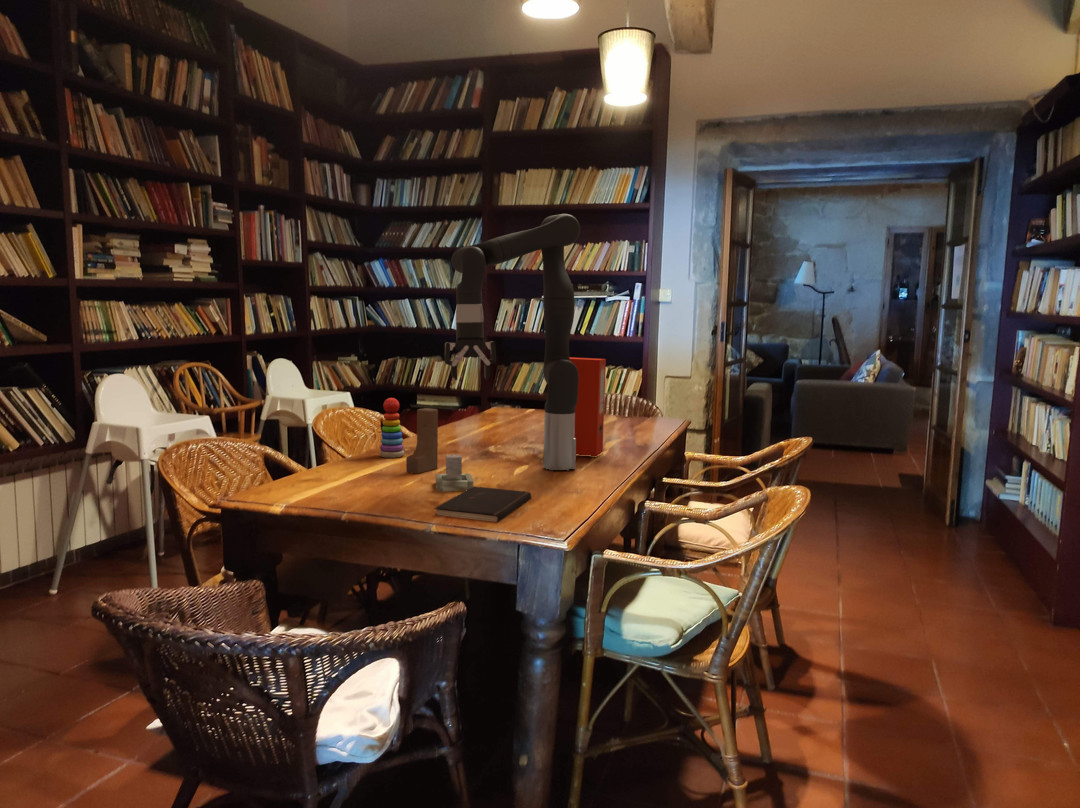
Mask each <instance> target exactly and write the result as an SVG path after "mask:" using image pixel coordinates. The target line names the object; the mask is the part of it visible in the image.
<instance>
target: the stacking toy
mask: <svg viewBox="0 0 1080 808" xmlns="http://www.w3.org/2000/svg"><path fill="white" fill-rule="evenodd" d="M383 410H384V411H385V413H384V414H383V418H384V420H383V421H382V425H383V426H382V427H381V430H382V432H381V437H382V438H381V439H380V443H381V444H380V445H379V449H380V451H379V453H378V454H379V456H380V457H382V458H387V459H395V458H396V457H397V458H401V456H402V457H403V456H404V455H405V450H404V444H403V443H404V439H403V437H402V436H403V432H402V427H401V421H400V419H399V418H400V414H399V413H398V411H399V410H400V402H399V400H397V399H396V398H395V397H388V398H386V399H385V400H384V402H383ZM397 458H396V459H397Z"/></svg>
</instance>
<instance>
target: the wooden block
mask: <svg viewBox="0 0 1080 808" xmlns="http://www.w3.org/2000/svg"><path fill="white" fill-rule="evenodd" d="M416 415H417V416H416V447H415V449H414V452H413V453H412V454H410V455H408V456H406V458H405V460H406V462H405V463H406V464H405V465H406V467H405V468H406V469H405V470H406V472H407V473H411V472H412V474H416V473H418V474H422V473H425V472H429V470H430V471H434V470H437V469H438V467H439V465H438V461H439V460H438V451H439V449H438V445H439V443H438V439H439V438H438V434H439V433H438V432H439V429H438V427H439V425H438V421H439V419H438V418H439V410H438V409H437V408H430V407H424V408H418V409H416ZM436 468H437V469H436ZM433 469H434V470H433ZM421 472H422V473H421Z"/></svg>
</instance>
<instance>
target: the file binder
mask: <svg viewBox="0 0 1080 808" xmlns="http://www.w3.org/2000/svg"><path fill="white" fill-rule="evenodd" d="M569 357H570V361H571V362H572V363H573V364H574V365H575V366H576V367H577V370H578V375H579V383H578V399H577V404H576V407H575V434H574V437H575V438H576V454H579V455H591V456H597V455H598V454H600V453H601V452H603V451H604V450H603V449H604V448H603V447H604V423H605V422H604V419H605V393H606V365H607V364H606V363H607V362H606V361H607V359H606V358H591V357H590V358H589V357H571V356H569Z"/></svg>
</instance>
